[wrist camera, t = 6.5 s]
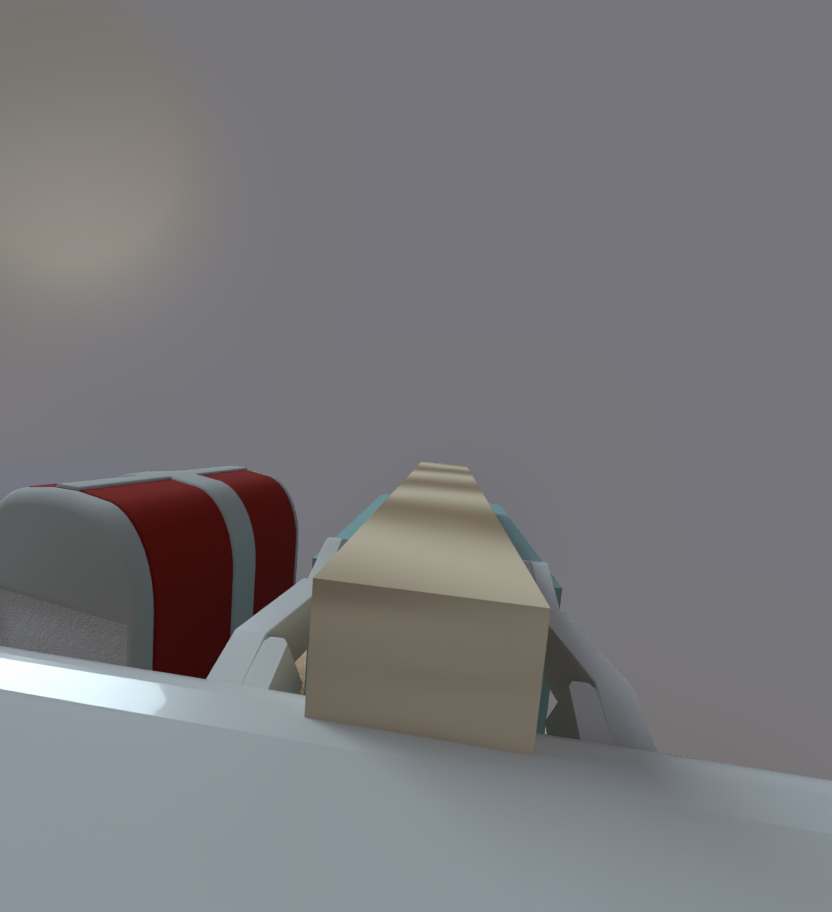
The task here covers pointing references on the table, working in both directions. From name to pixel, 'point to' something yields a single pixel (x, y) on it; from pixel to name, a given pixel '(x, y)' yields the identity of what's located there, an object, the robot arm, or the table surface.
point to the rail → (430, 621)
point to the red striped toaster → (144, 565)
